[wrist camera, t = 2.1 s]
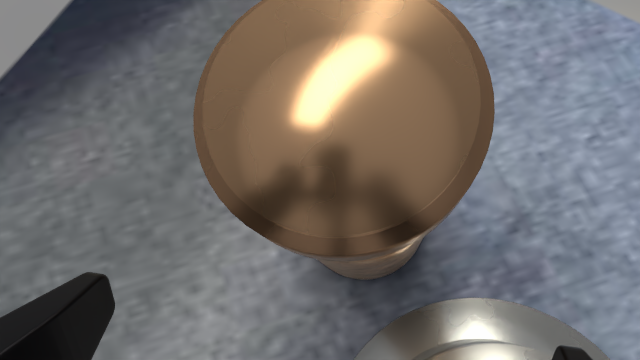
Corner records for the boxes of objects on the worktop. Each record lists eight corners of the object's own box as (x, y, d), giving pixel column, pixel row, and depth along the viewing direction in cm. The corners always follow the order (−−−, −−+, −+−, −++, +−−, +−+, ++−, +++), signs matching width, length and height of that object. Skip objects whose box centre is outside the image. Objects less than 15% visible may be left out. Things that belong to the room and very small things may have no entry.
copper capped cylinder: (380, 315, 20) (375, 323, 8) (271, 234, 21) (128, 137, 9) (458, 202, 21) (561, 54, 9) (348, 131, 22) (306, -80, 10)
